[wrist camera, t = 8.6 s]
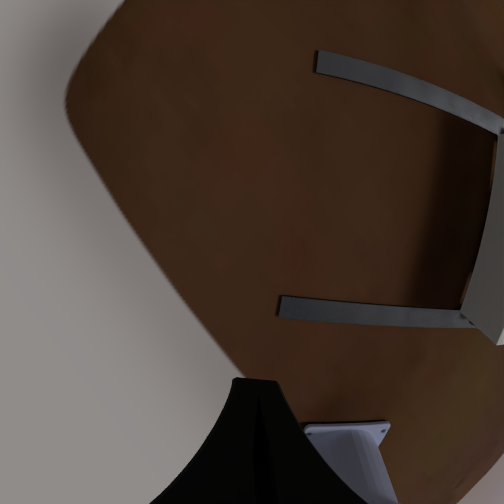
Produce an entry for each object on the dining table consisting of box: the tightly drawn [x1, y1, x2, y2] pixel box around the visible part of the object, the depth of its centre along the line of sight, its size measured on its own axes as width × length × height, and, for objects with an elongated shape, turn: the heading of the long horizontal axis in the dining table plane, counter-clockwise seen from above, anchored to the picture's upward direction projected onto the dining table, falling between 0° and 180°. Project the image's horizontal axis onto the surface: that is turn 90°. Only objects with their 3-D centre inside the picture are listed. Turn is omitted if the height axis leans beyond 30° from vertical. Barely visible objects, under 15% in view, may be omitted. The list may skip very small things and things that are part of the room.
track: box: [278, 50, 504, 328], centre depth 18 cm, size 16×28×1 cm, turn 83°
